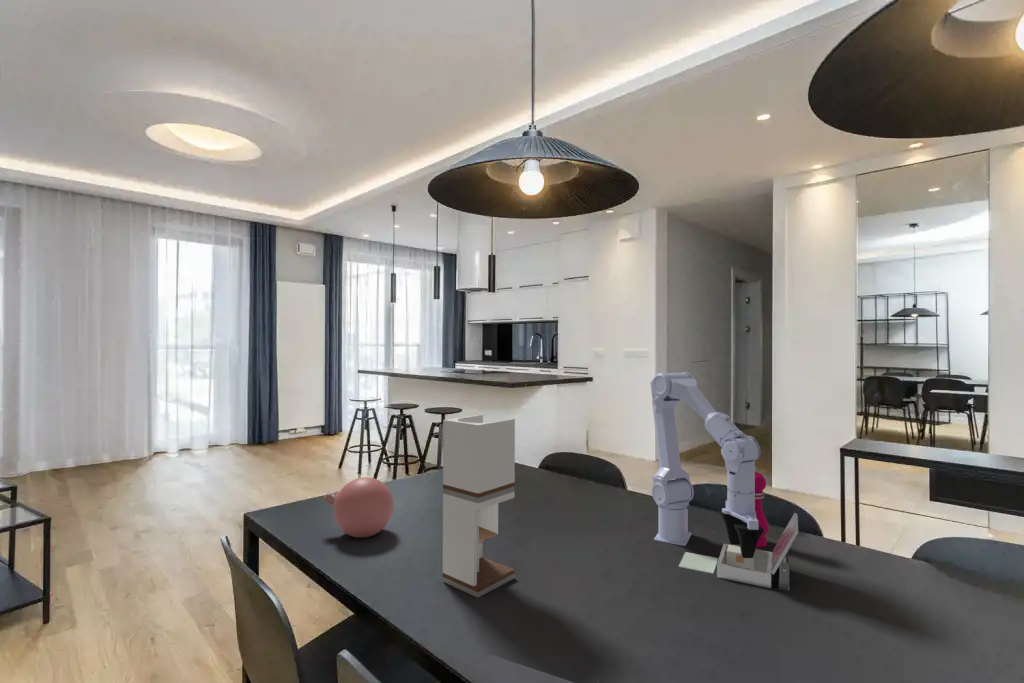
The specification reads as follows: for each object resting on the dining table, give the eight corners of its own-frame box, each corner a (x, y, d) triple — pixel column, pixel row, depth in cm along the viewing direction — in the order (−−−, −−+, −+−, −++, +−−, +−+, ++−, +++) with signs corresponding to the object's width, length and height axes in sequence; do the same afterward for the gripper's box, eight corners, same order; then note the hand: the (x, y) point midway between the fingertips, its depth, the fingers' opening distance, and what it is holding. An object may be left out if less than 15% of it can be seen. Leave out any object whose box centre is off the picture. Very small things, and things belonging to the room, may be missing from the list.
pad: (685, 553, 125) (685, 551, 125) (718, 559, 122) (718, 558, 122) (678, 567, 118) (678, 565, 118) (713, 574, 114) (713, 572, 114)
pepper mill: (772, 549, 128) (772, 470, 128) (741, 547, 129) (741, 468, 130) (764, 539, 135) (764, 463, 135) (735, 536, 137) (735, 462, 137)
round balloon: (342, 521, 148) (342, 468, 148) (403, 528, 142) (404, 473, 142) (306, 541, 133) (306, 482, 133) (373, 550, 127) (373, 488, 127)
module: (728, 563, 119) (728, 544, 119) (754, 568, 116) (754, 548, 116) (726, 570, 115) (726, 550, 115) (753, 576, 113) (753, 555, 113)
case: (723, 556, 124) (723, 536, 124) (789, 569, 117) (789, 547, 117) (717, 578, 112) (717, 555, 112) (789, 593, 106) (789, 569, 106)
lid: (794, 512, 117) (797, 514, 116) (772, 550, 119) (775, 552, 118) (795, 530, 105) (798, 532, 105) (770, 572, 107) (773, 574, 107)
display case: (477, 598, 103) (478, 425, 103) (442, 582, 110) (443, 420, 110) (514, 578, 112) (514, 419, 112) (479, 564, 119) (480, 414, 119)
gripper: (712, 481, 123) (712, 538, 123) (734, 499, 109) (734, 563, 109) (742, 482, 123) (742, 538, 123) (768, 500, 109) (768, 564, 108)
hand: (741, 550), depth 116 cm, fingers open, 7 cm apart
